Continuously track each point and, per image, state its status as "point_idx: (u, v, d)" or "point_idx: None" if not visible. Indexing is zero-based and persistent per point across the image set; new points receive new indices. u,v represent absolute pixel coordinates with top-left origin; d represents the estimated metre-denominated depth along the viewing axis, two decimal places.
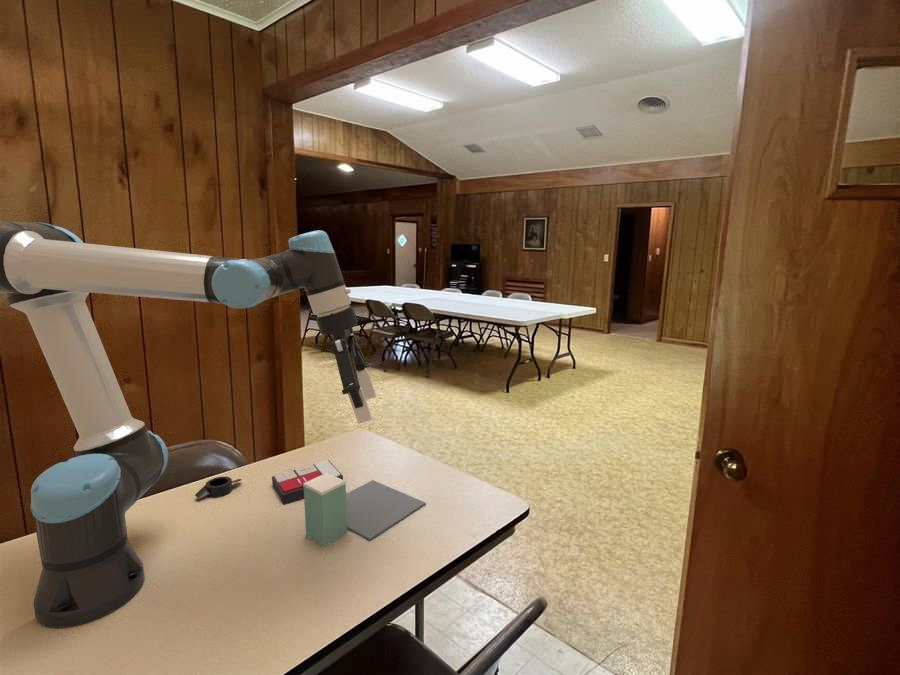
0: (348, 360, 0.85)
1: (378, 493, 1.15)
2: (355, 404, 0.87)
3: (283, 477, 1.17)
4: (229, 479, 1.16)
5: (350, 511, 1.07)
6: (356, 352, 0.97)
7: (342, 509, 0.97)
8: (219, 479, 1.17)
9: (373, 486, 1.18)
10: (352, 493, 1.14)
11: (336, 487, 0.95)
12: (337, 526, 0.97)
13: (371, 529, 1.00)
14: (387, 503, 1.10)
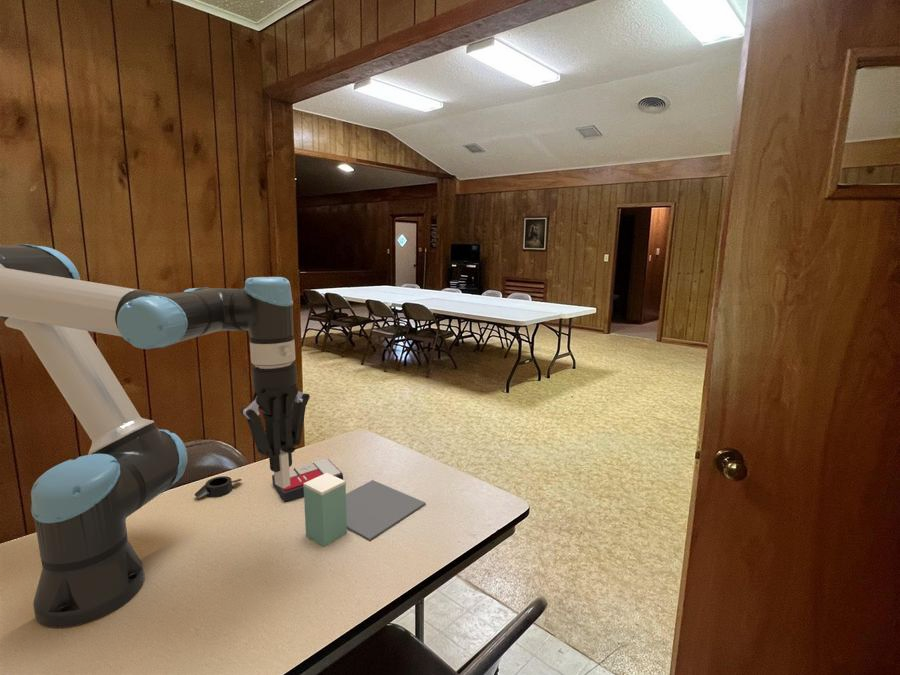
0: (256, 431, 0.81)
1: (378, 493, 1.15)
2: (270, 467, 0.86)
3: None
4: (229, 479, 1.16)
5: (350, 511, 1.07)
6: (284, 418, 0.86)
7: (342, 509, 0.97)
8: (219, 479, 1.17)
9: (373, 486, 1.18)
10: (352, 493, 1.14)
11: (336, 487, 0.95)
12: (337, 526, 0.97)
13: (371, 529, 1.00)
14: (387, 503, 1.10)
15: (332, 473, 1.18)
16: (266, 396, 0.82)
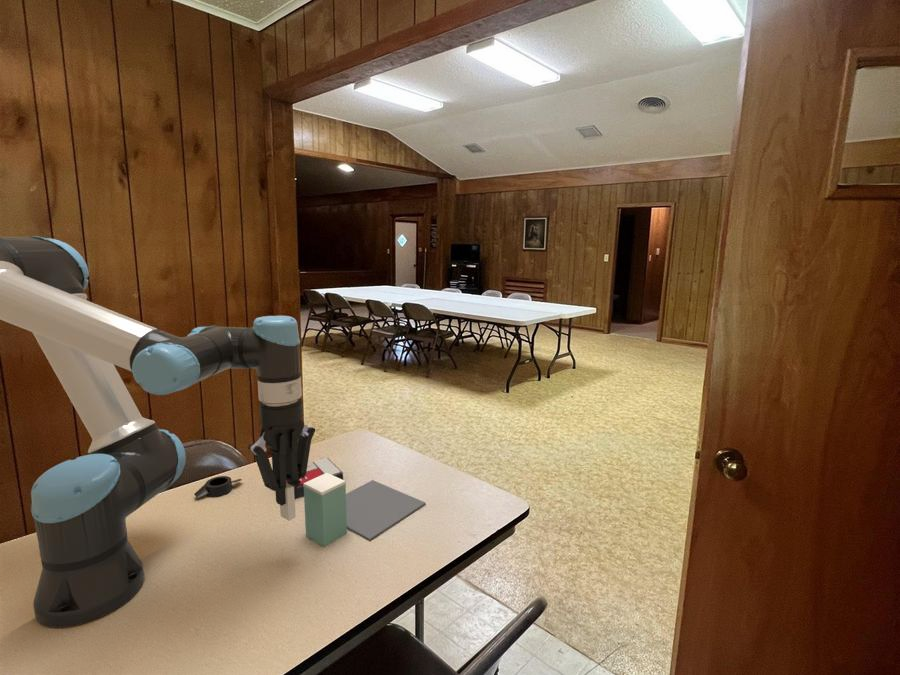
0: (263, 467, 0.83)
1: (378, 493, 1.15)
2: (276, 500, 0.88)
3: None
4: (229, 479, 1.16)
5: (350, 511, 1.07)
6: (290, 453, 0.88)
7: (342, 509, 0.97)
8: (219, 478, 1.17)
9: (373, 486, 1.18)
10: (352, 493, 1.14)
11: (336, 487, 0.95)
12: (337, 526, 0.97)
13: (371, 529, 1.00)
14: (387, 503, 1.10)
15: (332, 472, 1.19)
16: (273, 432, 0.84)
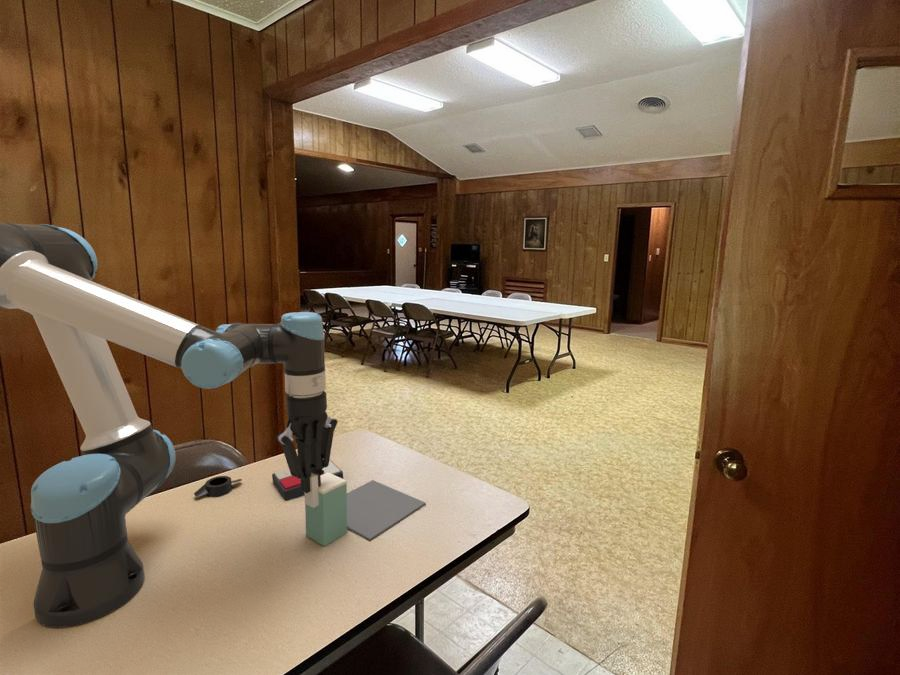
0: (290, 456, 0.88)
1: (378, 493, 1.15)
2: (301, 488, 0.92)
3: (284, 474, 1.18)
4: (229, 479, 1.17)
5: (350, 511, 1.07)
6: (314, 443, 0.92)
7: (343, 509, 0.98)
8: (220, 478, 1.17)
9: (373, 486, 1.18)
10: (352, 493, 1.14)
11: (337, 486, 0.96)
12: (338, 525, 0.97)
13: (371, 529, 1.00)
14: (387, 503, 1.10)
15: (332, 471, 1.19)
16: (299, 423, 0.88)
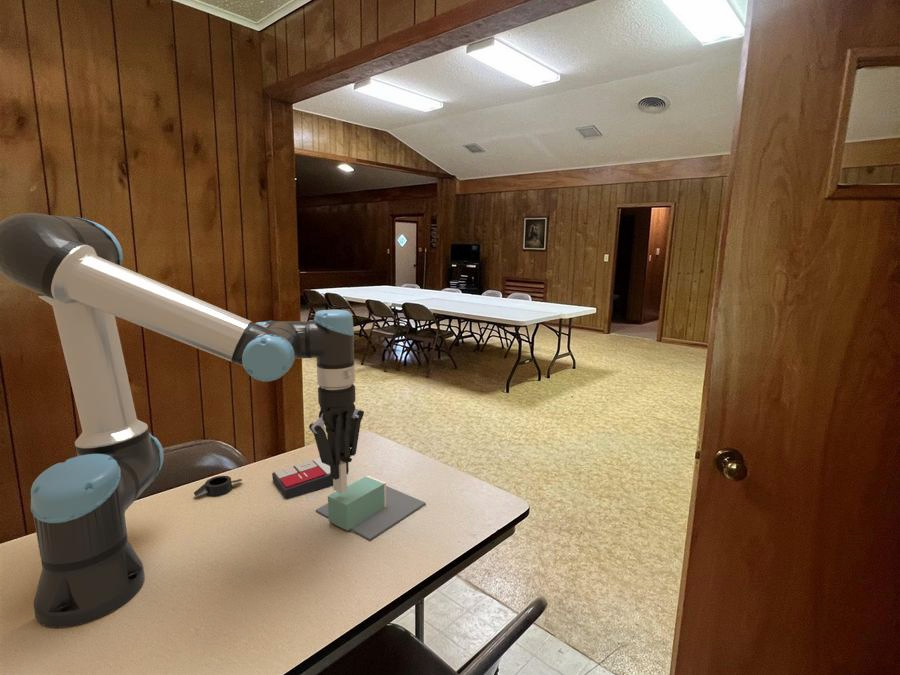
0: (322, 444, 0.94)
1: None
2: (331, 474, 0.98)
3: (284, 473, 1.19)
4: (229, 479, 1.17)
5: None
6: (343, 433, 0.98)
7: (367, 513, 1.04)
8: (220, 478, 1.17)
9: None
10: None
11: (384, 498, 1.08)
12: (356, 514, 1.01)
13: (371, 529, 1.00)
14: (387, 503, 1.10)
15: None
16: (330, 413, 0.94)
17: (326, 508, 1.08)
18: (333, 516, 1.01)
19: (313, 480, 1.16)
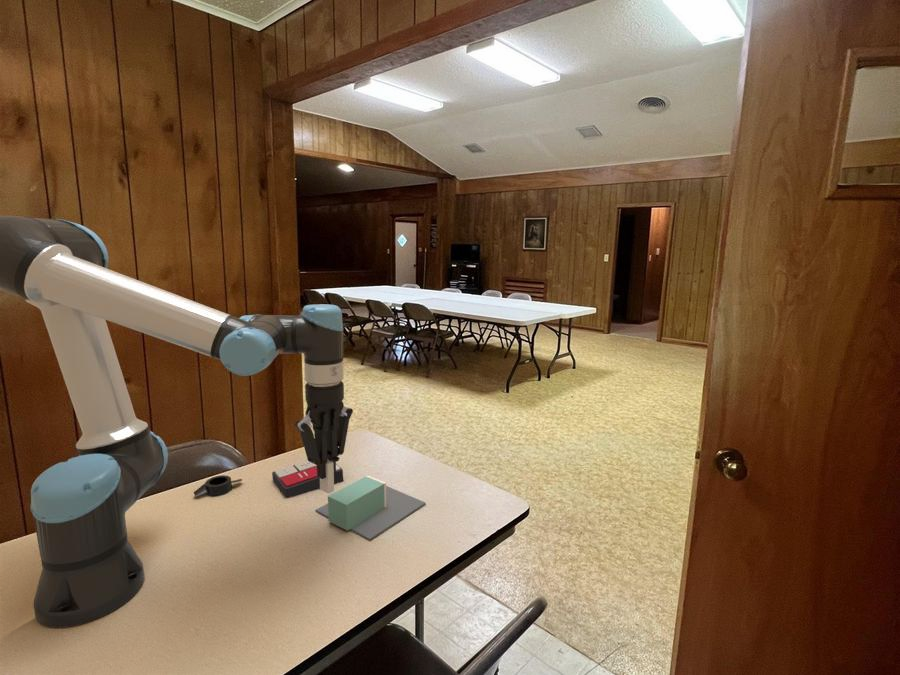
0: (308, 442, 0.91)
1: None
2: (317, 474, 0.96)
3: (284, 472, 1.19)
4: (229, 479, 1.17)
5: None
6: (331, 431, 0.95)
7: (367, 513, 1.04)
8: (220, 478, 1.18)
9: None
10: None
11: (384, 498, 1.08)
12: (356, 514, 1.01)
13: (371, 529, 1.00)
14: (387, 503, 1.10)
15: None
16: (317, 411, 0.92)
17: (326, 508, 1.08)
18: (333, 516, 1.01)
19: (313, 479, 1.17)
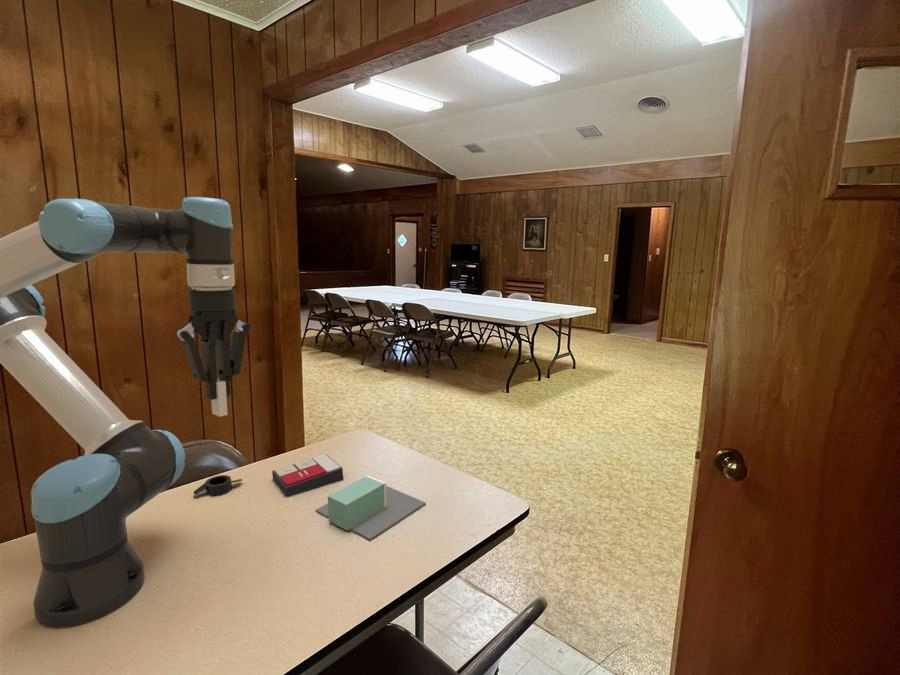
0: (191, 354, 0.80)
1: None
2: (207, 394, 0.85)
3: (284, 471, 1.20)
4: (228, 479, 1.17)
5: None
6: (222, 345, 0.85)
7: (367, 513, 1.04)
8: (220, 477, 1.18)
9: None
10: None
11: (384, 498, 1.08)
12: (356, 514, 1.01)
13: (371, 529, 1.00)
14: (387, 503, 1.10)
15: (332, 468, 1.21)
16: (202, 319, 0.81)
17: (326, 508, 1.08)
18: (333, 516, 1.01)
19: (313, 478, 1.17)
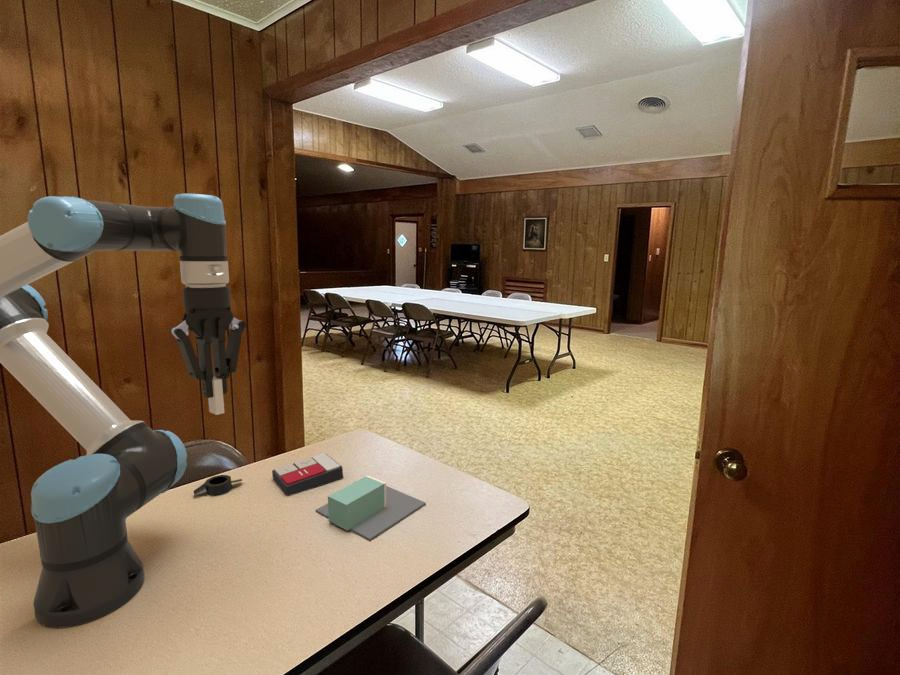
0: (186, 351, 0.80)
1: None
2: (203, 392, 0.85)
3: (284, 470, 1.20)
4: (228, 478, 1.17)
5: None
6: (217, 343, 0.84)
7: (367, 513, 1.04)
8: (221, 477, 1.18)
9: None
10: None
11: (384, 498, 1.08)
12: (356, 514, 1.01)
13: (371, 529, 1.00)
14: (387, 503, 1.10)
15: (332, 466, 1.22)
16: (196, 317, 0.81)
17: (326, 508, 1.08)
18: (333, 516, 1.01)
19: (313, 477, 1.18)
